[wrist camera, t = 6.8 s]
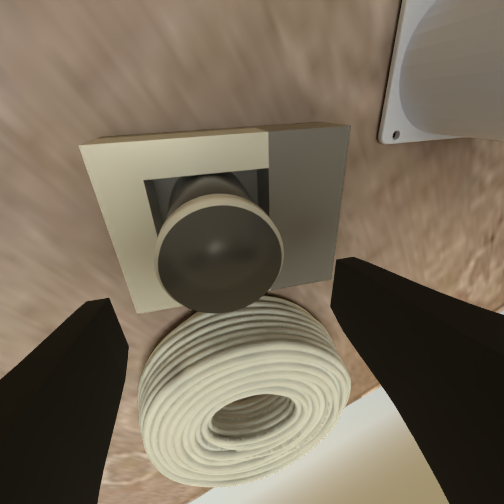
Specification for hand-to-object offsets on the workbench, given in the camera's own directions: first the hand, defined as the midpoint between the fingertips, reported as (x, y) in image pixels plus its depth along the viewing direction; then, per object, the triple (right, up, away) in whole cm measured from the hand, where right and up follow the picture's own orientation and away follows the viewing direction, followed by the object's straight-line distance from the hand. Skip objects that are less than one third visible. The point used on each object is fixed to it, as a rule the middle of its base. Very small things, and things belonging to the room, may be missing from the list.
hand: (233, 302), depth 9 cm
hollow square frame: (-1, +5, +8) cm, 9 cm away
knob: (-2, +4, +7) cm, 8 cm away
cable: (-1, -9, +16) cm, 19 cm away
